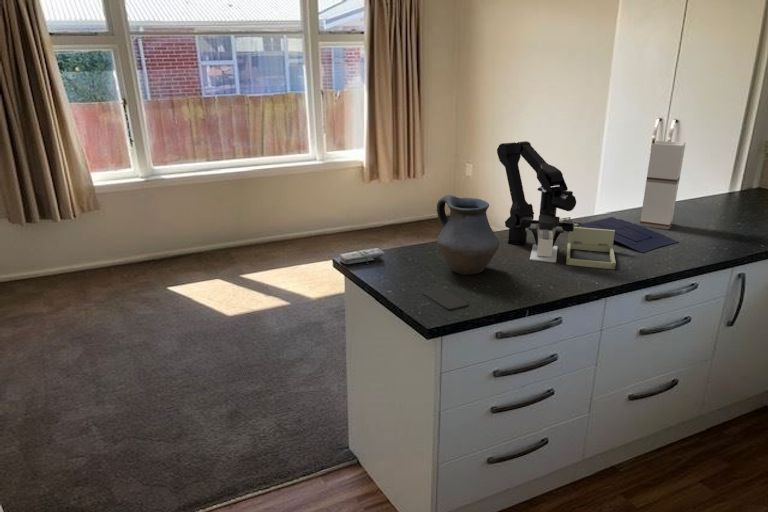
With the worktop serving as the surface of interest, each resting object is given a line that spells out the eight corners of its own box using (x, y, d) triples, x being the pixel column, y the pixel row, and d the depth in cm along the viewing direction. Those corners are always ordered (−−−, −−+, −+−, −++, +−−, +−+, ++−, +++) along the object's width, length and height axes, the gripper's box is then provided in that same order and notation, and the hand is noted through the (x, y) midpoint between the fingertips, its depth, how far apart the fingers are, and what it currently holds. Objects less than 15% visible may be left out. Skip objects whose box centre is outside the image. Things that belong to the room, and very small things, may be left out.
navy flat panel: (613, 222, 248) (615, 214, 246) (677, 248, 225) (680, 239, 224) (575, 231, 235) (577, 222, 233) (640, 259, 213) (642, 250, 211)
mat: (529, 260, 205) (529, 258, 204) (533, 245, 221) (533, 244, 221) (555, 262, 202) (555, 261, 202) (557, 247, 218) (557, 246, 218)
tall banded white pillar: (672, 223, 249) (685, 142, 238) (668, 229, 241) (682, 145, 230) (643, 220, 255) (655, 140, 244) (639, 225, 247) (651, 143, 235)
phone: (440, 287, 179) (469, 304, 167) (440, 290, 179) (469, 306, 167) (420, 292, 176) (448, 309, 163) (420, 294, 176) (448, 311, 163)
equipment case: (566, 264, 200) (568, 242, 197) (567, 246, 219) (569, 226, 217) (615, 269, 195) (618, 247, 193) (611, 250, 214) (614, 230, 212)
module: (536, 255, 206) (538, 238, 204) (537, 245, 217) (539, 229, 215) (551, 256, 205) (553, 239, 203) (551, 246, 216) (552, 229, 214)
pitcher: (482, 285, 182) (486, 209, 173) (421, 272, 192) (423, 200, 184) (505, 266, 198) (510, 196, 190) (448, 256, 209) (451, 188, 201)
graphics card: (547, 219, 245) (569, 216, 249) (546, 228, 246) (569, 224, 250) (574, 230, 230) (597, 226, 235) (573, 239, 231) (596, 235, 236)
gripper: (519, 208, 201) (516, 250, 206) (575, 212, 195) (570, 255, 201) (522, 201, 211) (519, 241, 216) (575, 204, 205) (571, 246, 211)
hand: (544, 246), depth 211 cm, fingers closed on module, 5 cm apart
